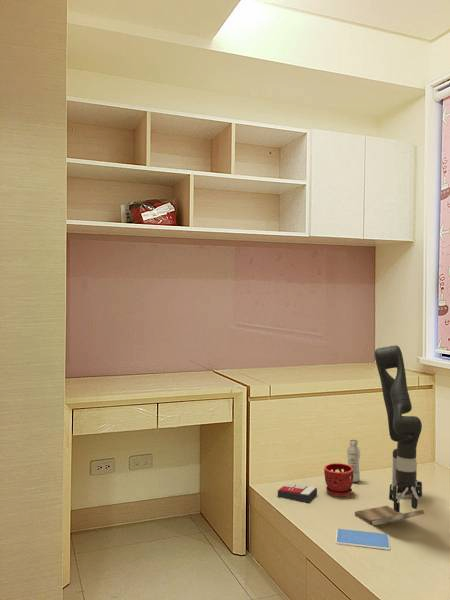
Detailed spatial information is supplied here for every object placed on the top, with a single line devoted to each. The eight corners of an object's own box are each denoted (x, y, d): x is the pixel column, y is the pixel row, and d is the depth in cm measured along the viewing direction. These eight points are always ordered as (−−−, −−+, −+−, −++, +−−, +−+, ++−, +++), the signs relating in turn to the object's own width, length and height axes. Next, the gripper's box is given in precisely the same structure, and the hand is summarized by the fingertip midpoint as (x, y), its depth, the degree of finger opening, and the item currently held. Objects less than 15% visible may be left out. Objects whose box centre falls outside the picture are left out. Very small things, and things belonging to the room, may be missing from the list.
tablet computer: (335, 545, 195) (335, 541, 195) (336, 530, 207) (336, 527, 207) (390, 552, 190) (390, 548, 190) (388, 536, 203) (388, 533, 203)
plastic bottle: (352, 484, 256) (353, 443, 256) (343, 480, 262) (344, 439, 262) (363, 482, 259) (363, 441, 259) (353, 478, 265) (354, 438, 265)
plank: (405, 518, 218) (404, 514, 218) (424, 513, 208) (423, 509, 209) (372, 525, 211) (371, 521, 211) (391, 520, 201) (390, 516, 202)
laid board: (387, 508, 228) (387, 505, 228) (403, 518, 219) (404, 514, 219) (354, 515, 221) (354, 511, 221) (370, 524, 212) (370, 520, 212)
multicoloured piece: (286, 481, 250) (317, 486, 242) (286, 491, 250) (317, 495, 242) (277, 489, 240) (308, 493, 233) (277, 498, 240) (309, 503, 233)
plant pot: (328, 486, 254) (328, 461, 254) (355, 491, 248) (356, 465, 248) (320, 495, 242) (320, 469, 242) (349, 500, 237) (349, 473, 236)
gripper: (413, 463, 212) (412, 503, 212) (385, 467, 206) (384, 509, 206) (427, 468, 205) (426, 510, 205) (398, 473, 199) (397, 516, 199)
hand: (405, 509), depth 206 cm, fingers open, 8 cm apart
